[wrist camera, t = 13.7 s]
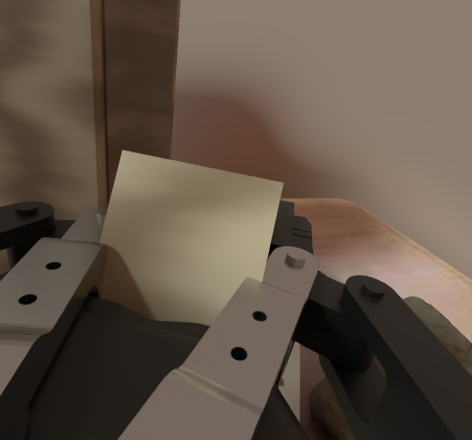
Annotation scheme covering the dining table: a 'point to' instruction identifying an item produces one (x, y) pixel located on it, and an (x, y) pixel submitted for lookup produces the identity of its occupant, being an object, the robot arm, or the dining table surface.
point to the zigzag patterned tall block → (82, 96)
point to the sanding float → (184, 237)
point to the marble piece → (325, 400)
